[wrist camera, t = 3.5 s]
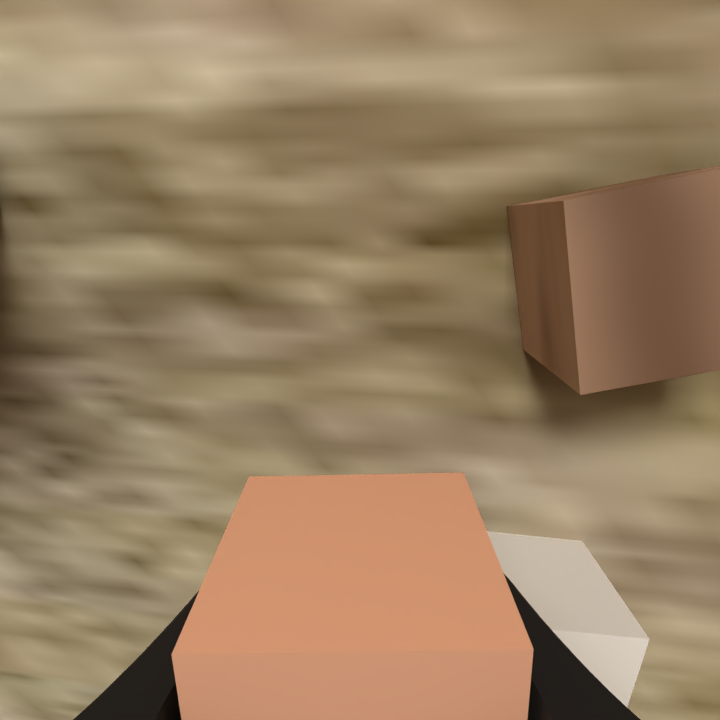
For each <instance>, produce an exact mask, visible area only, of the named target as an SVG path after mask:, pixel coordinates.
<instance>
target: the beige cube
mask: <svg viewBox="0 0 720 720" xmlns="http://www.w3.org/2000/svg"><path fill="white" fill-rule="evenodd" d="M487 533H488V536H489V538H490V541H491V543H492V546H493V548H494V551H495V553H496V556H497V558H498V561H499V563H500V566H501V568H502V571H503V573H504V574H505V575H506V576H507V577H508V578H509V579H510V581H511V582H512V583H513V584H514V586H515V587H516V588H517V589H518V590H519V592H520V593H521V594H522V595H523V597H524V598H525V599H526V600H527V602H528V603H529V604H530V605H531V606H532V608H533V609H534V610H535V611H536V612H537V613H538V615H539V616H540V617H541V618H542V619H543V621H544V622H545V623H546V624H547V625H548V626H549V627H550V629H551V630H552V631H553V632H554V633H555V634H556V635H557V636H558V638H559V639H560V640H561V641H562V642H563V643H564V644H565V645H566V646H567V647H568V648H569V650H570V651H571V652H572V653H573V654H574V655H575V656H576V657H577V658H578V659H579V660H580V661H581V662H582V664H583V665H584V666H585V667H586V668H587V669H588V670H589V671H590V672H591V673H592V674H593V675H594V676H595V677H596V678H597V679H598V680H599V681H600V682H601V683H602V684H603V685H604V686H605V687H606V688H607V689H608V690H609V691H610V692H611V693H612V694H613V695H614V696H615V697H616V698H617V699H618V700H620V701H621V702H622V703H623V704H624V705H625V706H626V707H627V706H628V703H629V700H630V697H631V694H632V691H633V688H634V685H635V682H636V679H637V676H638V673H639V670H640V666H641V663H642V660H643V657H644V654H645V651H646V648H647V645H648V642H649V638H648V636H647V635H646V634H645V632H644V631H643V629H642V628H641V626H640V625H639V623H638V622H637V620H636V619H635V618H634V616H633V615H632V613H631V612H630V610H629V609H628V607H627V606H626V604H625V603H624V601H623V600H622V599H621V597H620V596H619V594H618V593H617V591H616V590H615V588H614V587H613V585H612V584H611V583H610V581H609V580H608V578H607V577H606V575H605V574H604V572H603V571H602V569H601V568H600V566H599V565H598V564H597V562H596V561H595V559H594V558H593V556H592V555H591V553H590V552H589V550H588V549H587V548H586V546H585V545H584V543H583V542H582V541H576V540H566V539H556V538H547V537H537V536H528V535H518V534H508V533H499V532H489V531H487Z"/></svg>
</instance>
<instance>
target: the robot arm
mask: <svg viewBox="0 0 720 720" xmlns="http://www.w3.org/2000/svg"><path fill="white" fill-rule="evenodd" d="M504 576H505V578H506V581H507V583H508V586H509V588H510V591H511V593H512V596H513V598H514V601H515V604H516V606H517V609H518V611H519V614H520V616H521V619H522V621H523V624H524V626H525V629H526V631H527V634H528V636H529V639H530V641H531V644H532V646H533V649H534V650H533V662H532V673H531V685H530V696H529V708H528V719H527V720H640V719H639V718H638V717H637V716H636V715H635V714H633V713H632V712H631V711H630V710H629V709H628V708H627V707H626V706H625V705H624V704H623V703H622V702H621V701H620V700H618V699H617V698H616V697H615V696H614V695H613V694H612V693H611V692H610V691H609V690H608V689H607V688H606V687H605V686H604V685H603V684H602V683H601V682H600V681H599V680H598V679H597V678H596V677H595V676H594V675H593V674H592V673H591V672H590V671H589V670H588V669H587V668H586V667H585V666H584V665H583V664H582V662H581V661H580V660H579V659H578V658H577V657H576V656H575V655H574V654H573V653H572V652H571V651H570V650H569V648H568V647H567V646H566V645H565V644H564V643H563V642H562V641H561V640H560V639H559V638H558V636H557V635H556V634H555V633H554V632H553V631H552V630H551V629H550V627H549V626H548V625H547V624H546V623H545V622H544V621H543V619H542V618H541V617H540V616H539V615H538V613H537V612H536V611H535V610H534V609H533V608H532V606H531V605H530V604H529V603H528V602H527V600H526V599H525V598H524V597H523V595H522V594H521V593H520V592H519V590H518V589H517V588H516V587H515V586H514V584H513V583H512V582H511V581H510V579H509V578H508V577H507V576H506V575H505V574H504ZM198 592H199V591H198ZM198 592H197V594H196V595H195V596H194V597H193V598H192V599H191V600H190V602H189V603H188V604H187V605H186V606H185V607H184V608H183V609H182V611H181V612H180V613H179V614H178V615H177V616H176V617H175V618H174V620H173V621H172V622H171V623H170V624H169V625H168V626H167V627H166V628H165V630H164V631H163V632H162V633H161V634H160V635H159V636H158V637H157V638H156V639H155V640H154V641H153V642H152V643H151V645H150V646H149V647H148V648H147V649H146V650H145V651H144V652H143V653H142V654H141V655H140V656H139V657H138V658H137V659H136V660H135V661H134V662H133V663H132V664H131V665H130V666H129V667H128V668H127V669H126V670H125V671H124V672H123V673H122V674H121V675H120V676H119V677H118V678H117V679H116V680H115V681H114V682H113V683H112V684H111V685H110V686H109V687H108V688H107V689H106V690H105V691H104V692H103V693H102V694H101V695H100V696H99V697H98V698H97V699H95V700H94V701H93V702H92V703H91V704H90V705H89V706H88V707H87V708H86V709H85V710H84V711H82V712H81V713H80V714H79V715H78V716H77V717H76V718H75V719H74V720H181V714H180V707H179V701H178V694H177V687H176V681H175V674H174V668H173V661H172V655H171V654H172V652H173V650H174V648H175V645H176V643H177V641H178V638H179V636H180V634H181V631H182V629H183V627H184V625H185V622H186V620H187V618H188V615H189V613H190V611H191V609H192V606H193V604H194V602H195V599H196V597H197V595H198Z"/></svg>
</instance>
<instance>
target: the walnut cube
mask: <svg viewBox="0 0 720 720" xmlns="http://www.w3.org/2000/svg"><path fill="white" fill-rule="evenodd" d="M507 214H508V222H509V231H510V240H511V248H512V257H513V266H514V275H515V283H516V292H517V301H518V310H519V318H520V327H521V336H522V344H523V350H525V351H526V352H527V353H528V354H530V355H531V356H532V357H533V358H535V359H536V360H537V361H538V362H540V363H541V364H542V365H543V366H545V367H546V368H547V369H548V370H550V371H551V372H552V373H553V374H554V375H556V376H557V377H558V378H559V379H561V380H562V381H563V382H564V383H566V384H567V385H568V386H569V387H571V388H572V389H573V390H574V391H576V392H577V393H578V394H579V395H584V394H589V393H595V392H600V391H606V390H611V389H617V388H622V387H628V386H633V385H639V384H645V383H650V382H656V381H661V380H667V379H672V378H678V377H683V376H689V375H694V374H700V373H705V372H711V371H717V370H720V166H718V167H711V168H704V169H698V170H691V171H685V172H678V173H671V174H665V175H659V176H654V177H649V178H644V179H639V180H634V181H629V182H624V183H619V184H614V185H609V186H604V187H599V188H594V189H589V190H584V191H580V192H575V193H570V194H565V195H560V196H555V197H550V198H545V199H540V200H535V201H530V202H525V203H520V204H515V205H510V206H507Z"/></svg>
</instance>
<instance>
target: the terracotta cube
mask: <svg viewBox="0 0 720 720" xmlns="http://www.w3.org/2000/svg"><path fill="white" fill-rule="evenodd" d="M533 650H534V649H533V646H532V644H531V641H530V639H529V636H528V634H527V631H526V629H525V626H524V624H523V621H522V619H521V616H520V614H519V611H518V609H517V606H516V604H515V601H514V598H513V596H512V593H511V591H510V588H509V586H508V583H507V581H506V578H505V576H504V573H503V571H502V568H501V566H500V563H499V561H498V558H497V556H496V553H495V551H494V548H493V546H492V543H491V541H490V538H489V536H488V533H487V531H486V528H485V526H484V523H483V521H482V518H481V516H480V513H479V511H478V508H477V506H476V503H475V500H474V498H473V495H472V493H471V490H470V488H469V485H468V483H467V480H466V478H465V475H464V473H419V474H365V475H312V476H258V477H249V478H248V480H247V482H246V485H245V487H244V489H243V492H242V494H241V496H240V498H239V501H238V503H237V505H236V508H235V510H234V512H233V515H232V517H231V519H230V521H229V524H228V526H227V528H226V531H225V533H224V535H223V537H222V540H221V542H220V544H219V547H218V549H217V551H216V554H215V556H214V558H213V560H212V563H211V565H210V567H209V570H208V572H207V574H206V576H205V579H204V581H203V583H202V586H201V588H200V590H199V592H198V595H197V597H196V599H195V602H194V604H193V606H192V609H191V611H190V613H189V615H188V618H187V620H186V622H185V625H184V627H183V629H182V631H181V634H180V636H179V638H178V641H177V643H176V645H175V648H174V650H173V652H172V654H171V655H172V661H173V668H174V674H175V681H176V687H177V694H178V701H179V707H180V714H181V720H527V719H528V708H529V696H530V685H531V673H532V662H533Z"/></svg>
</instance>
